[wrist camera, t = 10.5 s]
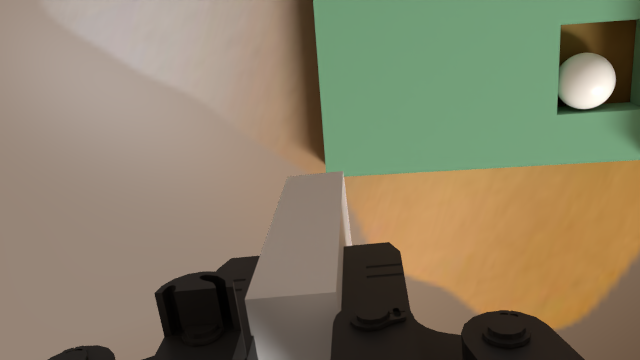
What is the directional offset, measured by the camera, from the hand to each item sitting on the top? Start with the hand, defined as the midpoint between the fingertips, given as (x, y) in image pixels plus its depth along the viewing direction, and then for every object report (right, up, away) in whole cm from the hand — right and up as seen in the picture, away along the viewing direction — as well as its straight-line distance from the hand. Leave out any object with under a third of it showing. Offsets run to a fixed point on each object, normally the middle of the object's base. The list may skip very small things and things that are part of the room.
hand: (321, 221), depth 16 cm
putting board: (+11, +8, +23) cm, 27 cm away
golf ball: (+16, +8, +23) cm, 29 cm away
